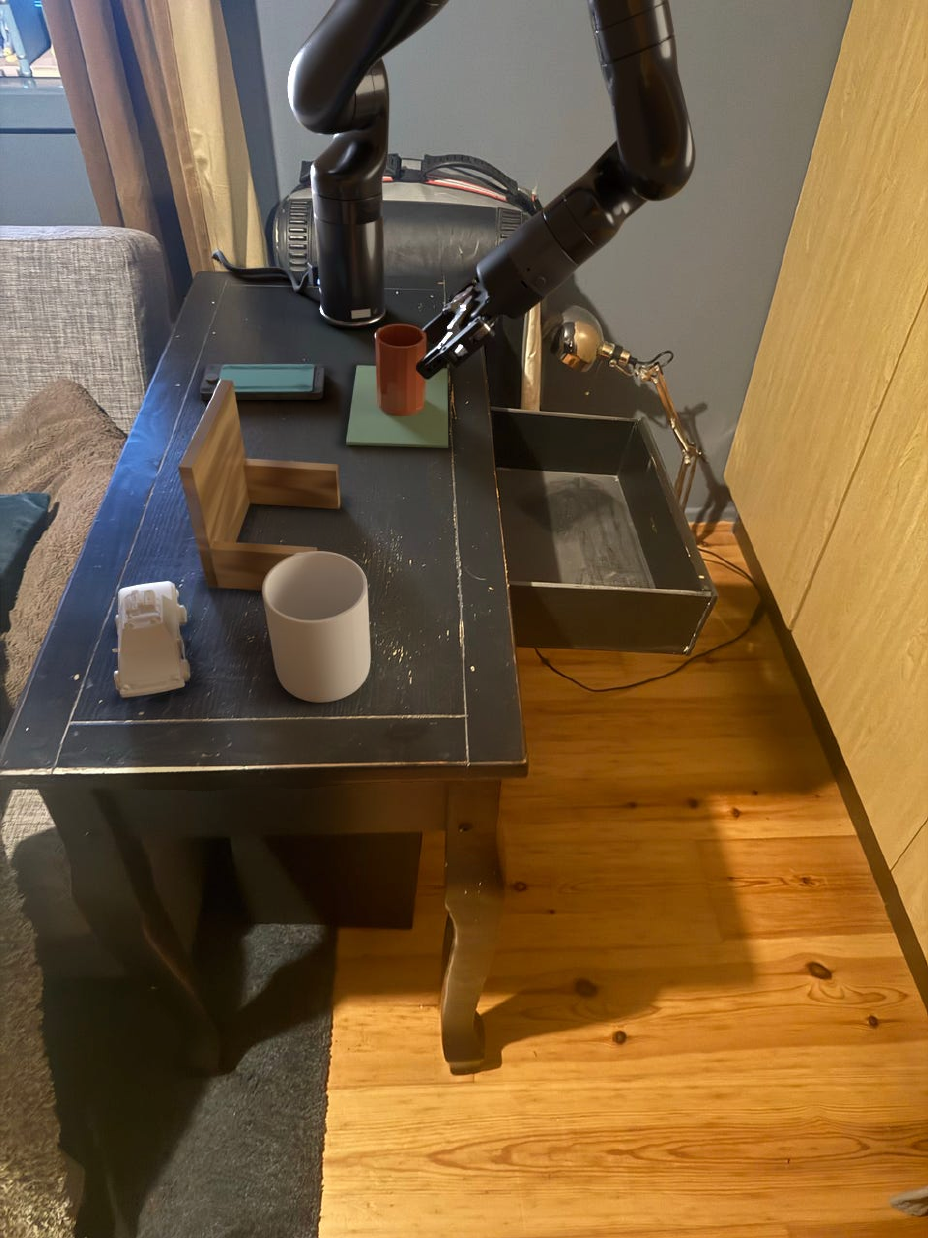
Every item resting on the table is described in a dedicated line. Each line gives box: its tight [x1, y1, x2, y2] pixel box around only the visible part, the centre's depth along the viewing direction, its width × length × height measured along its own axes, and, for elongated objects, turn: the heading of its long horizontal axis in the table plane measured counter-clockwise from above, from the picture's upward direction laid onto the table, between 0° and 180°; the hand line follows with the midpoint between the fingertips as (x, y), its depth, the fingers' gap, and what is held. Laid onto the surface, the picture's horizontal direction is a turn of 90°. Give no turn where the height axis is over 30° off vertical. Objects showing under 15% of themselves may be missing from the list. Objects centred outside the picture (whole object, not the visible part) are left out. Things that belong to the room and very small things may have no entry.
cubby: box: [178, 380, 341, 592], centre depth 79 cm, size 11×14×14 cm
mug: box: [261, 550, 372, 704], centre depth 70 cm, size 12×8×10 cm
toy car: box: [111, 580, 191, 698], centre depth 70 cm, size 6×12×7 cm, turn 16°
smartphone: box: [199, 363, 325, 401], centre depth 104 cm, size 7×1×15 cm
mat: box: [345, 364, 449, 449], centre depth 103 cm, size 18×12×1 cm, turn 1°
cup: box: [374, 323, 427, 416], centre depth 100 cm, size 6×6×9 cm
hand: (423, 355), depth 98 cm, fingers open, 8 cm apart
